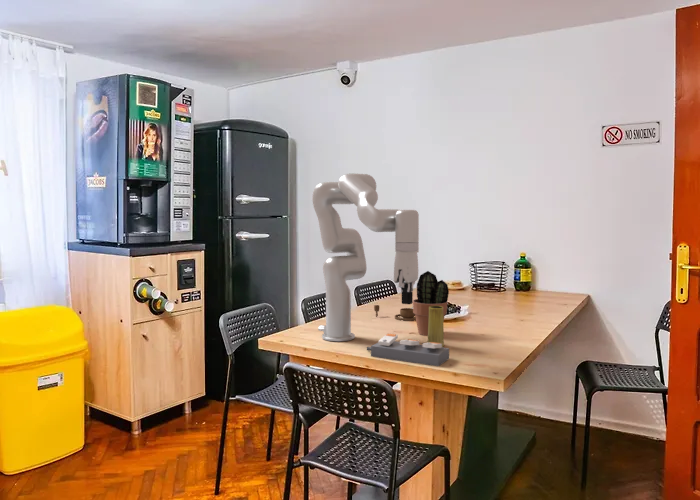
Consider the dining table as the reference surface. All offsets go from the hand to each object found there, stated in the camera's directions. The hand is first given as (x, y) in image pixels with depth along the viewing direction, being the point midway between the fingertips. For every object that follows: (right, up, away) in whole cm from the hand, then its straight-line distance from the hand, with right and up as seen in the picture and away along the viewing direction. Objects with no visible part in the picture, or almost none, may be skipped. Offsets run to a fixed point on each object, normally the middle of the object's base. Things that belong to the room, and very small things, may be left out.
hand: (407, 303), depth 176 cm
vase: (+12, -17, +19) cm, 29 cm away
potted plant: (+13, -16, +39) cm, 44 cm away
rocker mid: (+1, -13, +4) cm, 14 cm away
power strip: (0, -18, +5) cm, 19 cm away
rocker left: (-6, -13, +8) cm, 16 cm away
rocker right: (+8, -14, 0) cm, 16 cm away
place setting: (+5, -14, +72) cm, 73 cm away
